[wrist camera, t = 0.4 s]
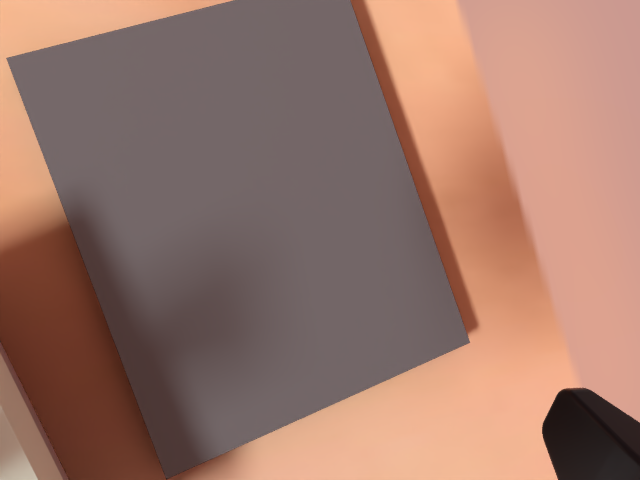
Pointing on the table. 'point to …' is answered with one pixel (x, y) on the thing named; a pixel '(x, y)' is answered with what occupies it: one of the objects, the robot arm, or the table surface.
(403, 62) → the table surface
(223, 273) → the mat
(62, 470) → the grey square block
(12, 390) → the lid
